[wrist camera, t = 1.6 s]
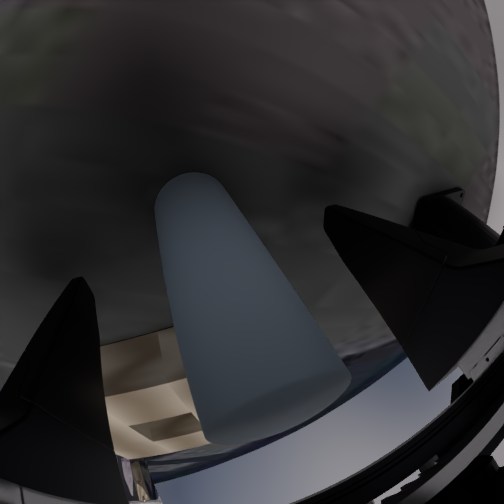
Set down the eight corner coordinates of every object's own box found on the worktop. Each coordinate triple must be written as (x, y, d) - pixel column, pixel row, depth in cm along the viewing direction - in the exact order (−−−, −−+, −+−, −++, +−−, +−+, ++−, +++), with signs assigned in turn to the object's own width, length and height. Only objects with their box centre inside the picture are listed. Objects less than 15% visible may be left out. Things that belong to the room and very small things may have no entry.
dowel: (223, 164, 11) (368, 345, 4) (232, 228, 13) (336, 407, 6) (146, 184, 10) (183, 418, 4) (164, 247, 12) (220, 452, 6)
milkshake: (104, 450, 25) (120, 518, 17) (119, 440, 24) (138, 517, 16) (135, 453, 28) (153, 517, 20) (152, 443, 26) (173, 515, 19)
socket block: (233, 308, 16) (254, 356, 14) (251, 396, 25) (265, 425, 22) (36, 360, 13) (32, 406, 10) (122, 429, 22) (128, 459, 19)
